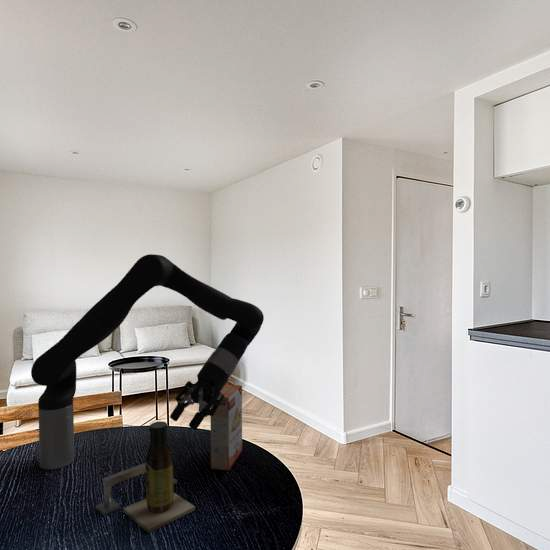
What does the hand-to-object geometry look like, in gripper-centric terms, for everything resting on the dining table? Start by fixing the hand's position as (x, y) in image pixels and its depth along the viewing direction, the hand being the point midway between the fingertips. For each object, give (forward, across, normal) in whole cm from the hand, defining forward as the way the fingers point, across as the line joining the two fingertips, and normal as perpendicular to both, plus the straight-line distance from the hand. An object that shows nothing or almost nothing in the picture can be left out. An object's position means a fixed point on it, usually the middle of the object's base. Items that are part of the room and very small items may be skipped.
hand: (182, 423), depth 103 cm
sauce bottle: (+17, 0, +8) cm, 19 cm away
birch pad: (+18, 0, +9) cm, 20 cm away
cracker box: (-2, -9, +29) cm, 30 cm away
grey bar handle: (+18, -10, +9) cm, 22 cm away
